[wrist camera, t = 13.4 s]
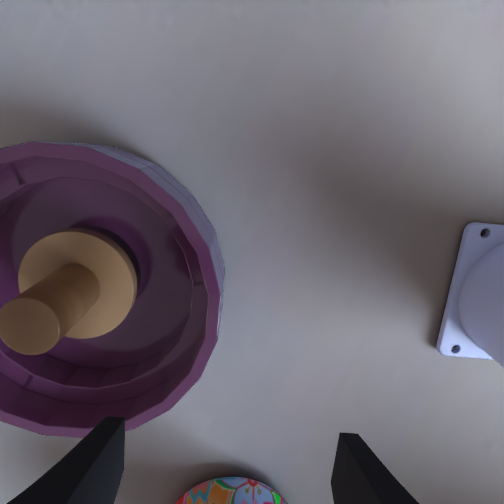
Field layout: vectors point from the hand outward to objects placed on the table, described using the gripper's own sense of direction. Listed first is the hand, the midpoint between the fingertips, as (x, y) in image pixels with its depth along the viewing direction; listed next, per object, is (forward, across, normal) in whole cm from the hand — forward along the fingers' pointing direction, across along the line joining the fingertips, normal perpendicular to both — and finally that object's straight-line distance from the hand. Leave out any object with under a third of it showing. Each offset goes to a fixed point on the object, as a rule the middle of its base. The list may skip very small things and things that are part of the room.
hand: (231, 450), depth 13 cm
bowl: (+10, +8, -2) cm, 13 cm away
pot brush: (+10, +8, -2) cm, 13 cm away
